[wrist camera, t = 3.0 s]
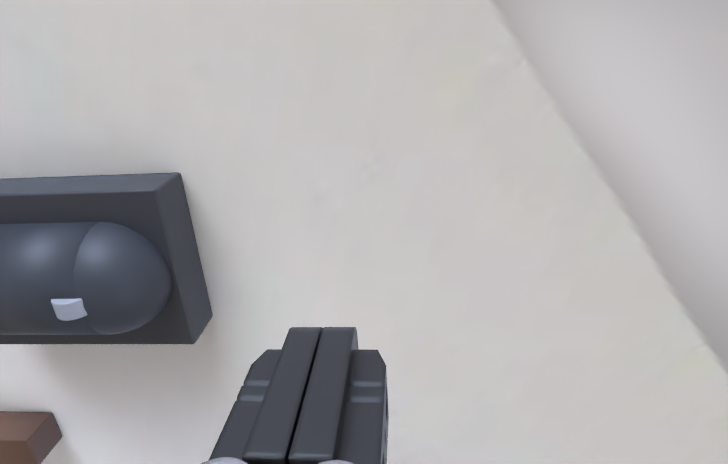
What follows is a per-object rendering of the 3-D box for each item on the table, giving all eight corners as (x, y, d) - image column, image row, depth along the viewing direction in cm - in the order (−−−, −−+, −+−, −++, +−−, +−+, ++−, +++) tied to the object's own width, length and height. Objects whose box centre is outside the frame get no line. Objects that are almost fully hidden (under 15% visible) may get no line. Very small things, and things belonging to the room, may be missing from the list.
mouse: (22, 316, 19) (-71, 388, 15) (-37, 179, 16) (-163, 225, 13) (213, 316, 18) (165, 391, 14) (181, 171, 16) (113, 218, 12)
